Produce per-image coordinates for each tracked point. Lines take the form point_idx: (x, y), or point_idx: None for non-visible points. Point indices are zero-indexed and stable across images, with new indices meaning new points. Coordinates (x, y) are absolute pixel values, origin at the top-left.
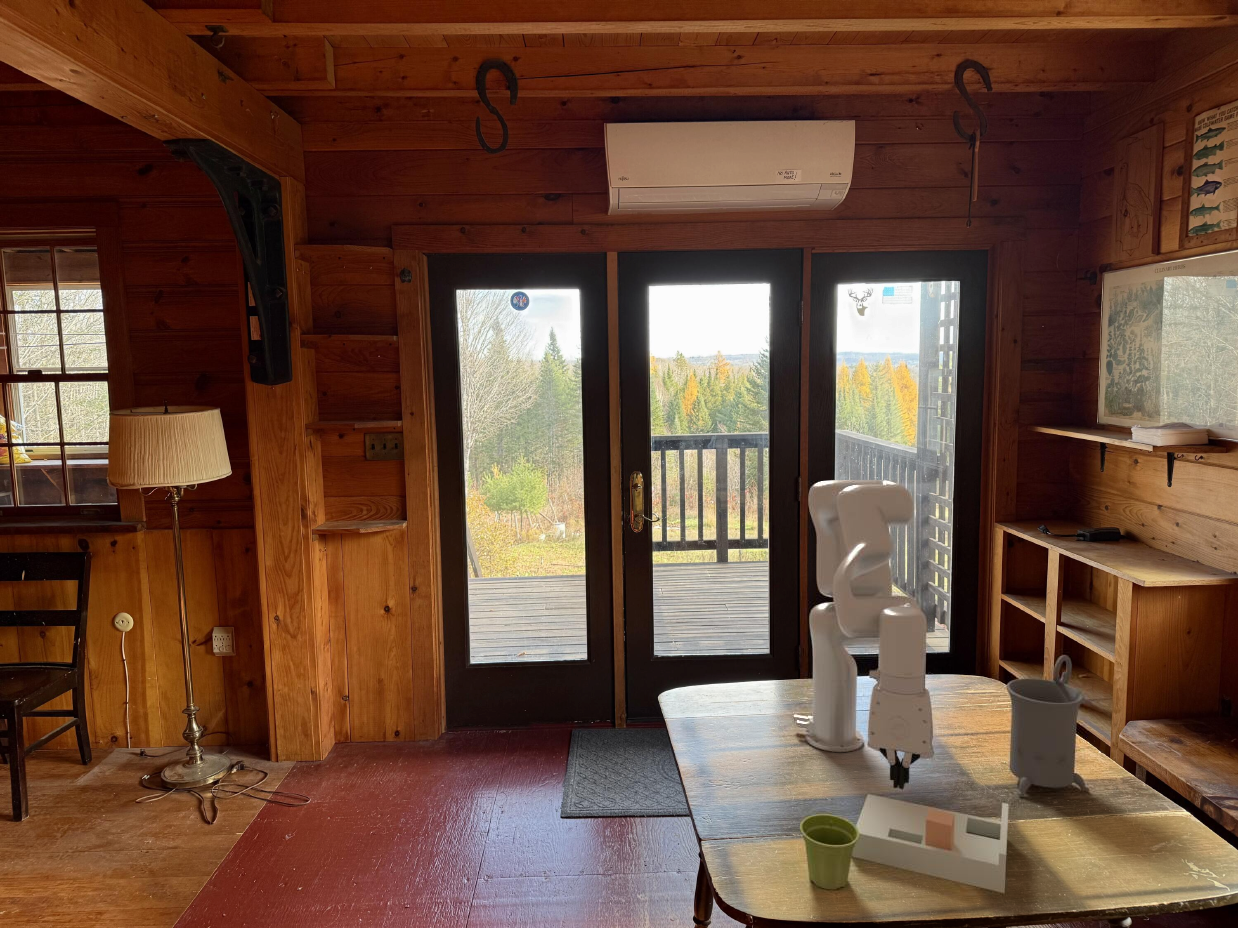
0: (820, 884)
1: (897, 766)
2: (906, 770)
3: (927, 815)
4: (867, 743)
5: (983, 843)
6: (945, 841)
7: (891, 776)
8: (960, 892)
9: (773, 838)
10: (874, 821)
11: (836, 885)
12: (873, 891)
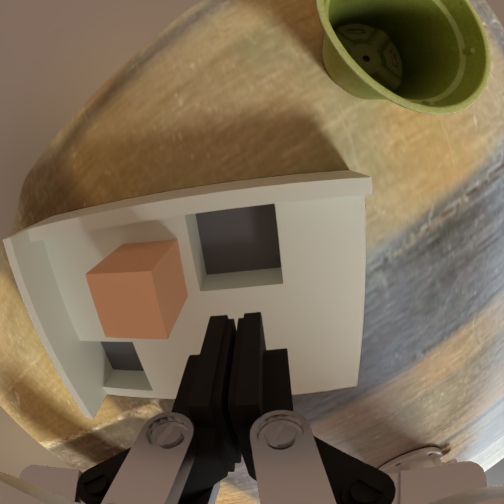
0: (365, 21)
1: (235, 410)
2: (184, 402)
3: (157, 298)
4: (484, 476)
5: (93, 318)
6: (121, 253)
7: (278, 358)
8: (103, 168)
9: (489, 165)
10: (326, 293)
11: (335, 25)
12: (260, 60)
